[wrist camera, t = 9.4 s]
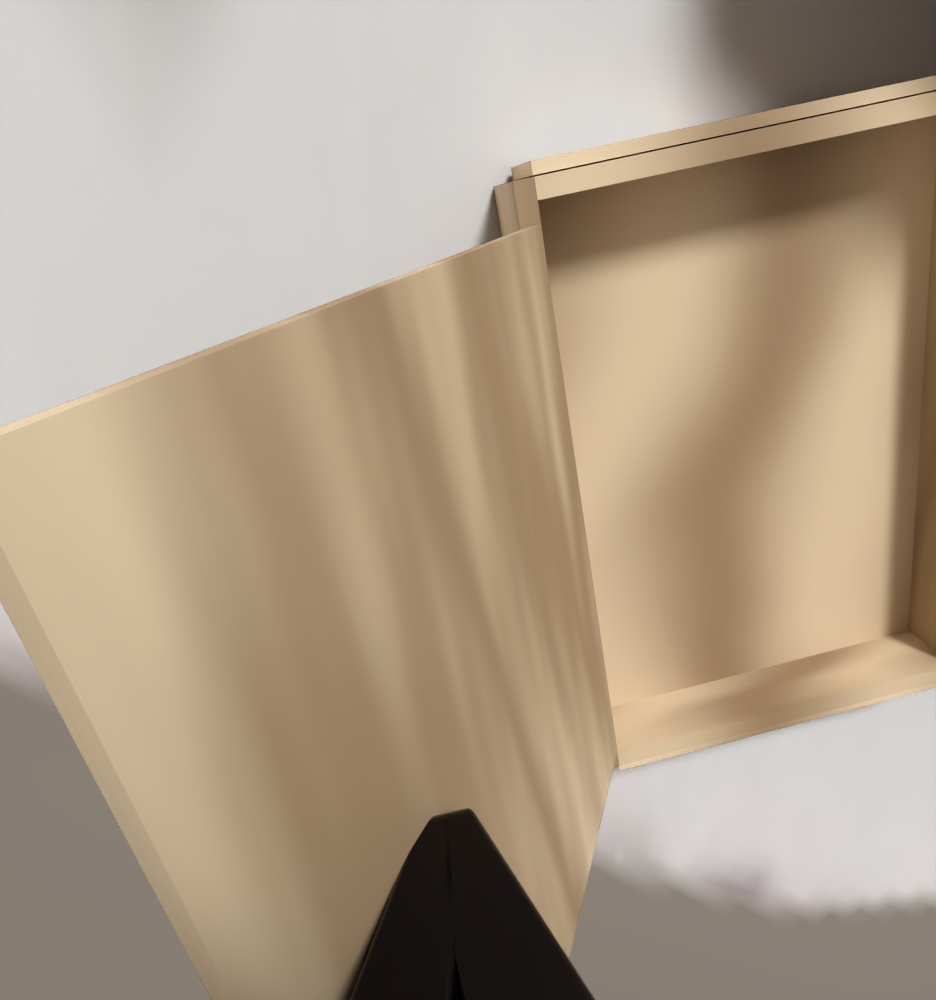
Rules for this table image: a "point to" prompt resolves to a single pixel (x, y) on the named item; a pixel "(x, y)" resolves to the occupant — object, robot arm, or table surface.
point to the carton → (751, 409)
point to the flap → (324, 613)
